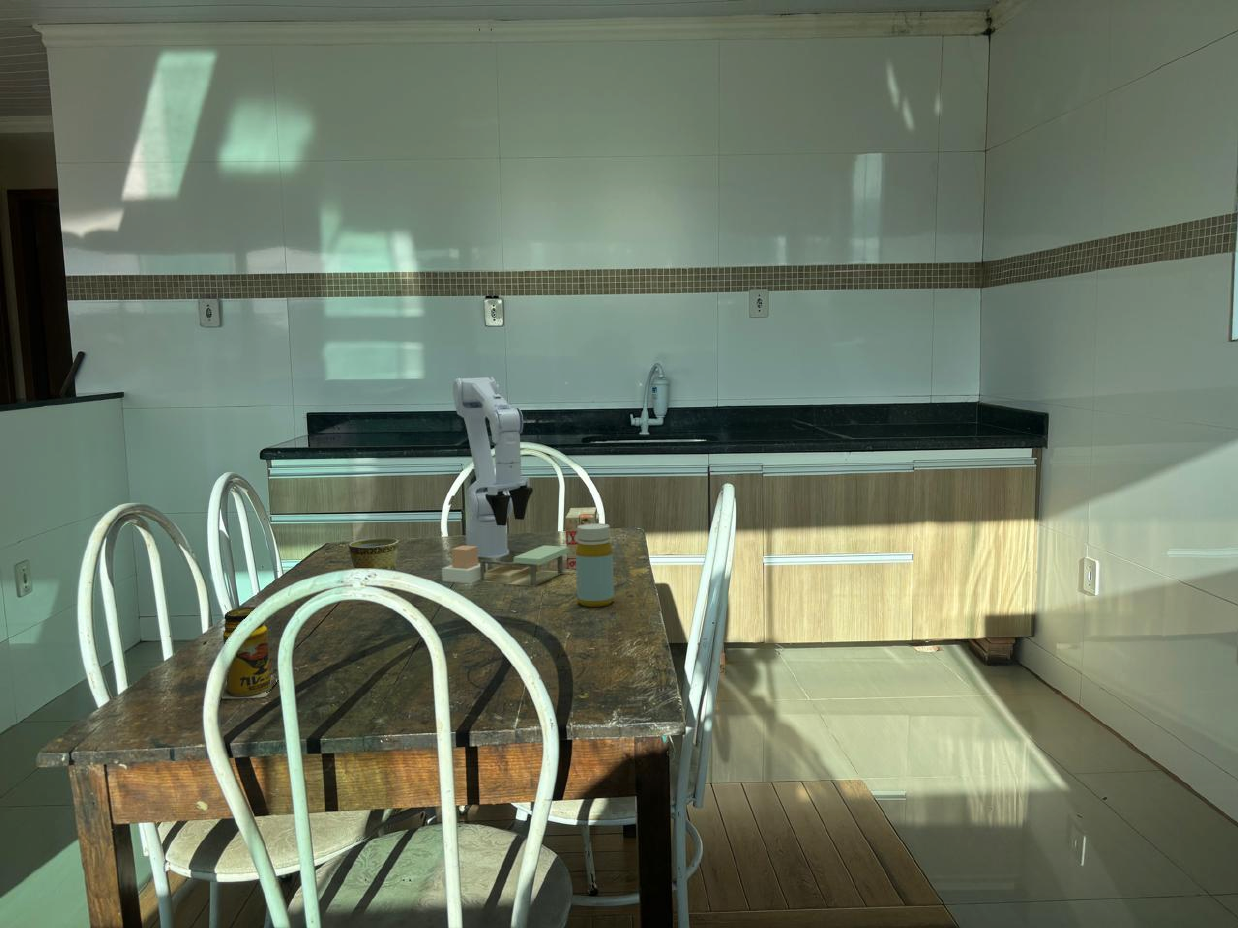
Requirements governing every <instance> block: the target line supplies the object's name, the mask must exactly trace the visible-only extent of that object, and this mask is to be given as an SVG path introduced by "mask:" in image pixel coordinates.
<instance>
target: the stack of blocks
mask: <svg viewBox="0 0 1238 928" xmlns="http://www.w3.org/2000/svg"><path fill="white" fill-rule="evenodd" d="M590 523H600V513H597V507H595V506H593V507H570V509H569V511H568V513H567V515H566V516H565V538H566V539H565V540H566V541H565V543H566V547H569V553H567V554H566V569H567V570H576V549H577V545H578V536H577V527H578V526H579V525H582V524H590Z"/></svg>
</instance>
